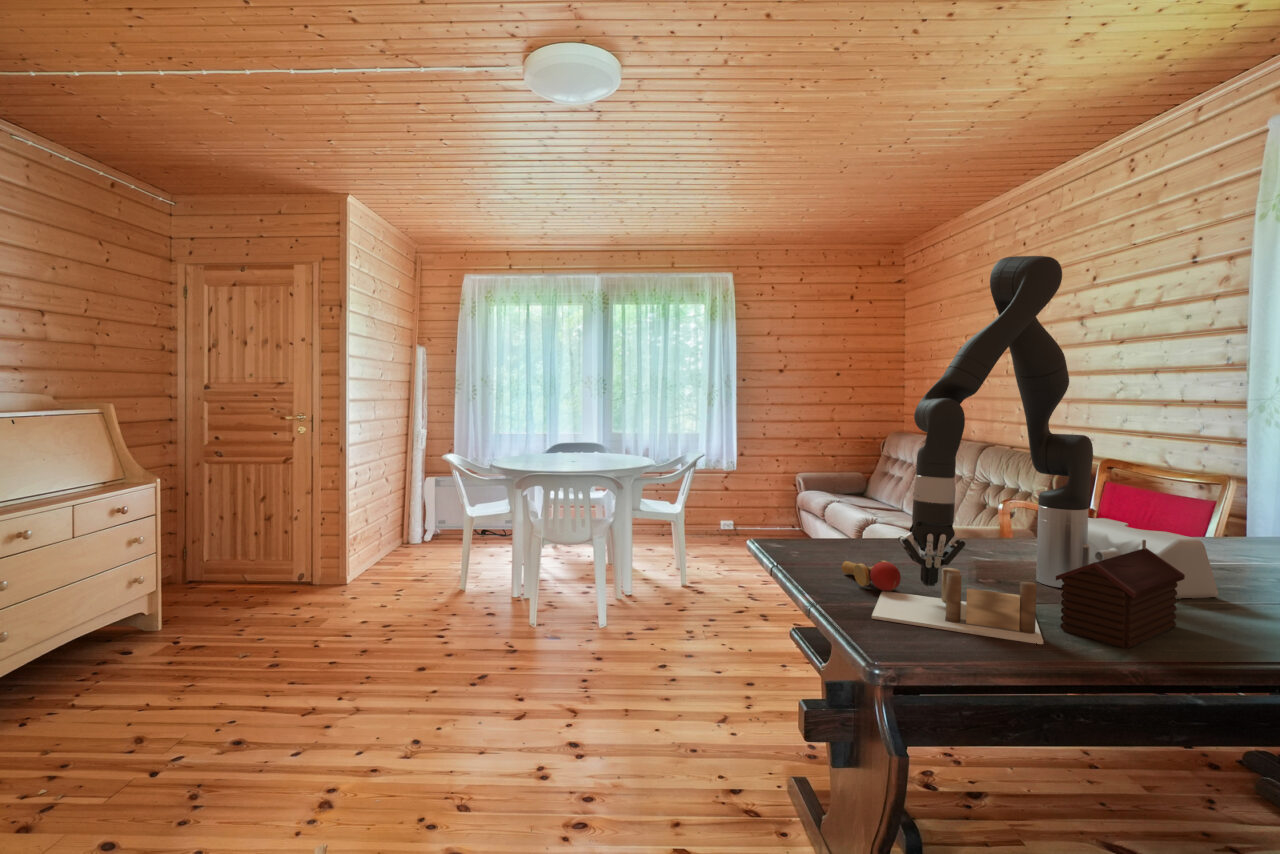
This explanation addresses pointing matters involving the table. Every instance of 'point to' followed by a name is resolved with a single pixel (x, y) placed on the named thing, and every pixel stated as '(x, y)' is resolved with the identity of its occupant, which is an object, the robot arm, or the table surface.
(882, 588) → the kendama
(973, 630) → the board
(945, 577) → the panel
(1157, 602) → the model building
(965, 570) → the table surface
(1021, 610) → the fence fixed
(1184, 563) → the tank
